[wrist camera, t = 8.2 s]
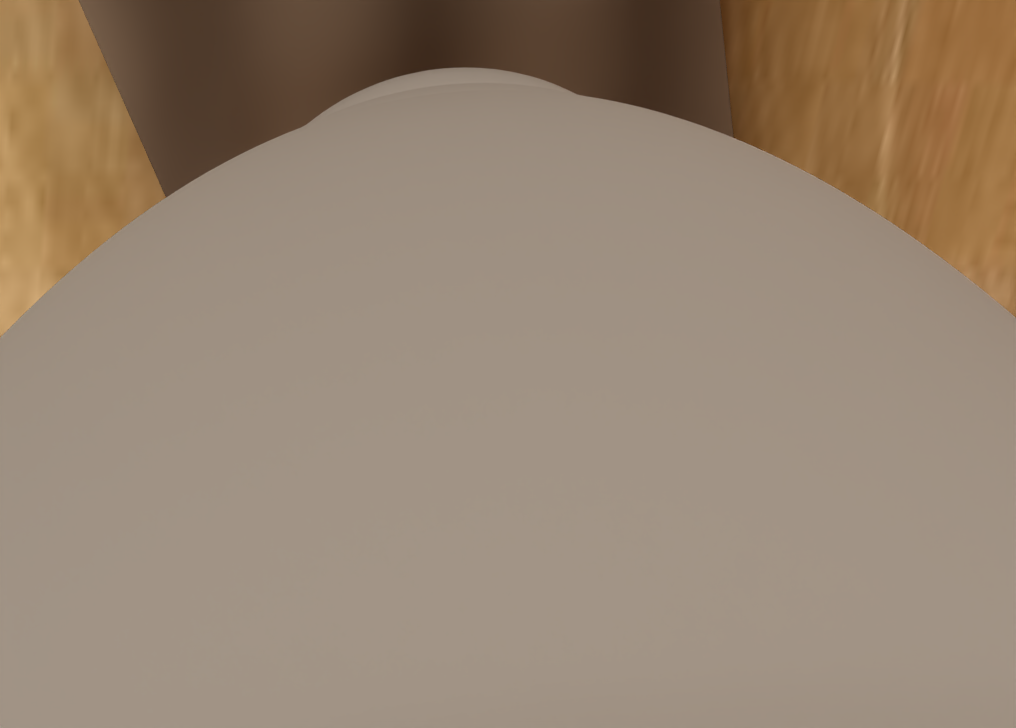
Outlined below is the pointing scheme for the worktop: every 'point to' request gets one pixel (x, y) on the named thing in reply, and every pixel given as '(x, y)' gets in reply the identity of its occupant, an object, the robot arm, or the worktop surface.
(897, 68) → the worktop surface
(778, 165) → the jar
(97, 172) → the worktop surface
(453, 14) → the holder
